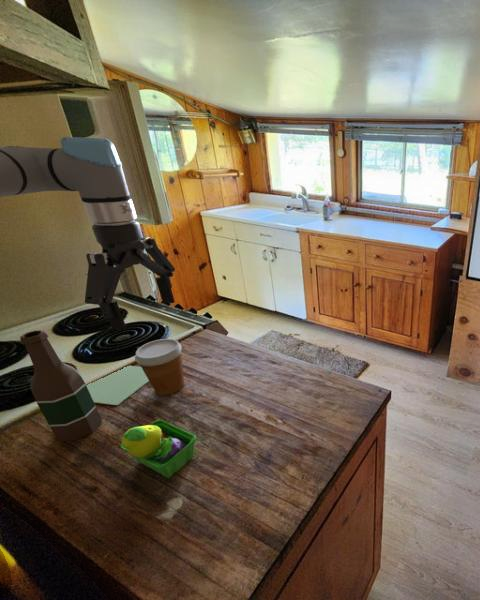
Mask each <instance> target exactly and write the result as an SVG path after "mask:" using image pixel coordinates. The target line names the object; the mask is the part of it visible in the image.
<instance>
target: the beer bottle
mask: <svg viewBox="0 0 480 600" xmlns="http://www.w3.org/2000/svg"><path fill="white" fill-rule="evenodd" d="M48 338H49V334H48V333H47V332H46V331H45V330H41V329H40V330H33V331H29V332H25V333H24V334H22V335H21V336H19V341H20V344H21V345H24V346H25V349H26V351H27V354H28V357H29V358H30V361H31V363H32V366H33V370H34V373H33V374H32V377H31V379H30V386H29V387H30V390H31V393H32V395H33V398H34V400H35V403H36V404H37V406H38V408H39V410H40V411H41V414H42V415H43V418H44V419H45V420H46V422H47V425H48V426H49V428H50V429H51V430H50V431H52V433H53V435H54V436H55V438H56V439H57V441H58V442H72V441H73V442H74V441H75V442H76V441H77V440H80V439H81V438H83V437H86V436H89V435H90V434H93V433H94V432H95V431H96V429H97V428H99V426H100V425H101V424H102V423H103V420H102V418H101V415H100V413H99V410H98V407H97V406H96V403H94V401H93V399H92V397H91V395H90V393H89V391H88V388H87V386H86V384H87V383H86V382H85V381H84V379H83V377H82V375H81V373H80V372H79V370H77V369H76V367H74V366H73V365H69V364H68V363H65V362H63V361H62V359H61V358H60V357H59V356H58V354H57V352H56V350H55V349H54V347H53V346H52V344H51V342H50V340H49V339H48Z"/></svg>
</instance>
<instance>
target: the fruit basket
mask: <svg viewBox="0 0 480 600" xmlns="http://www.w3.org/2000/svg"><path fill="white" fill-rule="evenodd" d="M196 439H197V436H196V434H192V433H191V432H189V431H186V430H184V429H182V428H180V427H178V426H176V425H174V424H171V423H170V422H168V421H165V420H164V419H157V420H155V421H153V422H152V423H150V424H147V425H146V424H145V425H141V426H140V425H139V426H134V427H132V428H129V429H128V430H126V432H125V433H124V434H123V435H122V438H121V445H120V448H121V449H123V450H124V451H125V452H127V453H128V454H129V455H130V456H131V457H132V458H133V459H134V460H135V461H137V462H138V463H139V464H141V465H142V464H143V465H144V466H145V467H147V468H148V469H152V470H153V471H155V472H156V473H158V474H161V475H162V476H163V477H166V478H167V479H169V478H171V477H172V476H173V475H174V474H175V473H176V472H178V471H179V470H180V469H182V468H183V467H184V466H185V465H186V464H187V463H188V462H189V461H191V460H192V459H193V458H194V450H195V443H196V441H197V440H196Z"/></svg>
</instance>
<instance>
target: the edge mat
mask: <svg viewBox="0 0 480 600" xmlns="http://www.w3.org/2000/svg"><path fill="white" fill-rule="evenodd" d="M148 383H150V381H149V380H148V378H147V376H146V374H145V373H144V371H143V369H142V368H141V366H137V365H129V366H127V367H124V368H123V369H121V370H118V371H117V372H114V373H112V374H110V375H108V376H106V377H104V378H101V379H99V380H97V381H95V382H93V383H90V384H88V383H87V384H88V385H86V386H87V388H88V391H89V393H90V395H91V397H92V399H93V401H94V404H100V405H101V404H102V405H110V406H115V407H116V406H117V407H118V406H119V405H120V404H122V403H123V402H124V401H125V400H127V399H128V398H130V397H131V396H132V395H133V394H135V393H136V392H138V391H139V390H140V389H141V388H143V387H144V386H145V385H146V384H148Z"/></svg>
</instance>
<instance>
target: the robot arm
mask: <svg viewBox="0 0 480 600" xmlns="http://www.w3.org/2000/svg"><path fill="white" fill-rule="evenodd" d="M59 141H60V145H61V146H60V148H59V147H57V148H54V147H53V148H50V147H33V146H32V147H30V146H29V147H28V146H19V145H14V146H12V145H5V146H0V198H4V197H12V196H18V195H26V194H27V195H28V194H34V193H41V192H58V191H59V192H78V194H79V197H80V199H81V201H82V205H83V207H84V210H85V214H86V216H87V219H88V222H89V223H92V225H91V229H92V232H93V235H94V237H95V240H96V243H98V244H99V245H100V246H101V252H97V253H94V252H88V253H86V255H85V256H86V261H87V264H88V266H87V278H86V287H85V294H84V302H85V304H88V305H98V306H99V309H100V311H101V314H102V317H104V318H105V319H107V320H108V323H109V325H110V328H111V330H113V331H126V330H127V329H128V327H127V325H126V323H125V320H124V317H123V314H122V312H121V308H120V306H119V304H118V301H117V300H113V299H114V296H115V293H116V290H117V288H118V285H119V281H120V279H121V276H122V274H123V273H124V272H125V271H126V269H129V268H131V267H133V266H137V265H142V266H143V267H144V268H146V269H148V270H149V271H150V272H152V273H153V274H155V275H156V277H155V282H156V286H157V288H158V289H157V290H158V291H159V295H160V298H161V301H162V303H164V304H165V303H166V304H175V302H176V300H175V297H174V293H173V290H172V289H173V285H172V281H171V278H172V277H173V276H174V272H175V271H176V267H175V266H174V265H173V264H172V263H171V261H170V260H169V258H168V257H166V255H165V254H164V253H163V252H162V250H161V249H160V248H159V246H158V243H157V242H156V239H155V238H153V237H144V235H143V231H142V228H141V225H140V223H139V222H138V221H137V220H136V219H137V218H138V215H137V212H136V209H135V205H134V203H133V199H132V197H131V193H130V191H129V187H128V184H127V179H126V177H125V173H124V170H123V163H122V162H121V160H120V157H119V154H118V152H117V149H116V147H115V144H114V143H113V142H112V141H111V140H109V139H108V138H104V137H79V136H75V137H74V136H62V137H61V138H60V140H59ZM145 252H146V253H145Z"/></svg>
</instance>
